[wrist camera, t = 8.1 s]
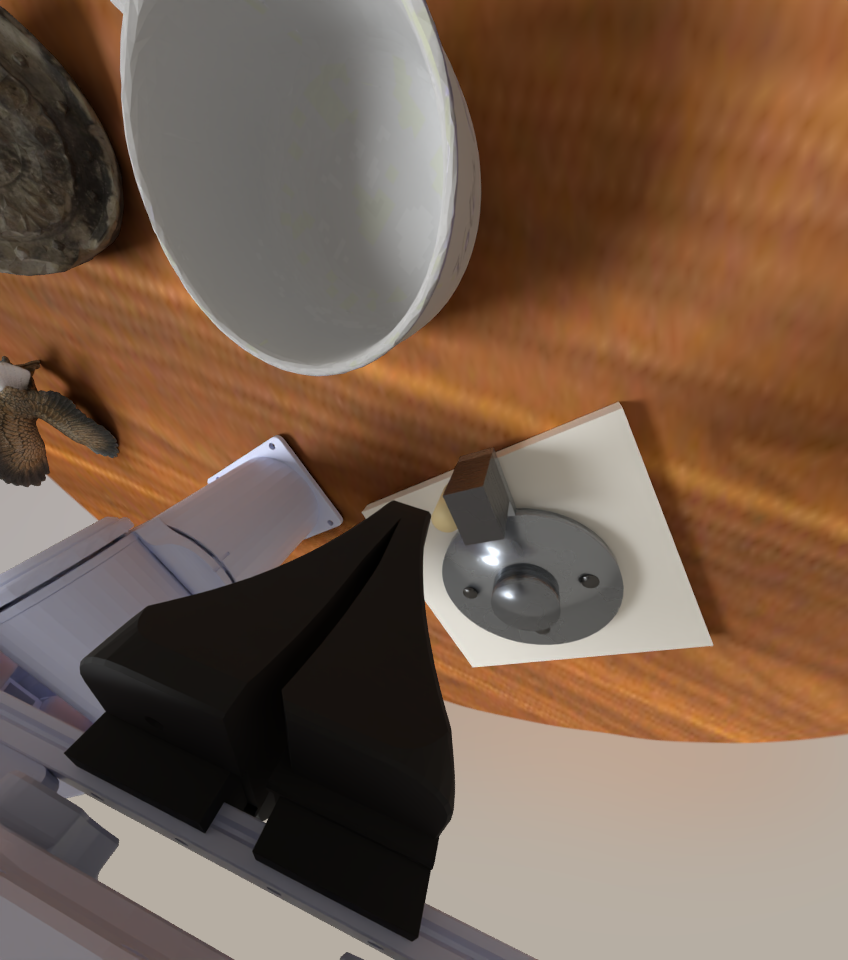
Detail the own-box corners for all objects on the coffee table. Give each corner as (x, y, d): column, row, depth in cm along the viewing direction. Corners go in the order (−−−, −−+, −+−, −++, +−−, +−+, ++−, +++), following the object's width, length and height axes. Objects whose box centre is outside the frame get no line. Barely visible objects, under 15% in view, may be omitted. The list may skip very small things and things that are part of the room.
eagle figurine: (-5, 388, 29) (55, 485, 31) (-121, 373, 22) (-35, 499, 24) (87, 356, 30) (141, 451, 32) (3, 332, 23) (78, 456, 25)
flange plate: (636, 631, 22) (654, 699, 19) (476, 637, 27) (466, 692, 23) (581, 422, 17) (593, 460, 13) (394, 475, 22) (365, 513, 18)
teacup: (531, 275, 16) (524, 270, 9) (354, 378, 21) (265, 424, 14) (374, -159, 11) (131, -807, 5) (196, 106, 16) (-46, -18, 9)
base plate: (474, 656, 30) (466, 703, 27) (367, 504, 25) (341, 538, 22) (707, 631, 22) (736, 693, 19) (618, 401, 17) (637, 430, 14)
